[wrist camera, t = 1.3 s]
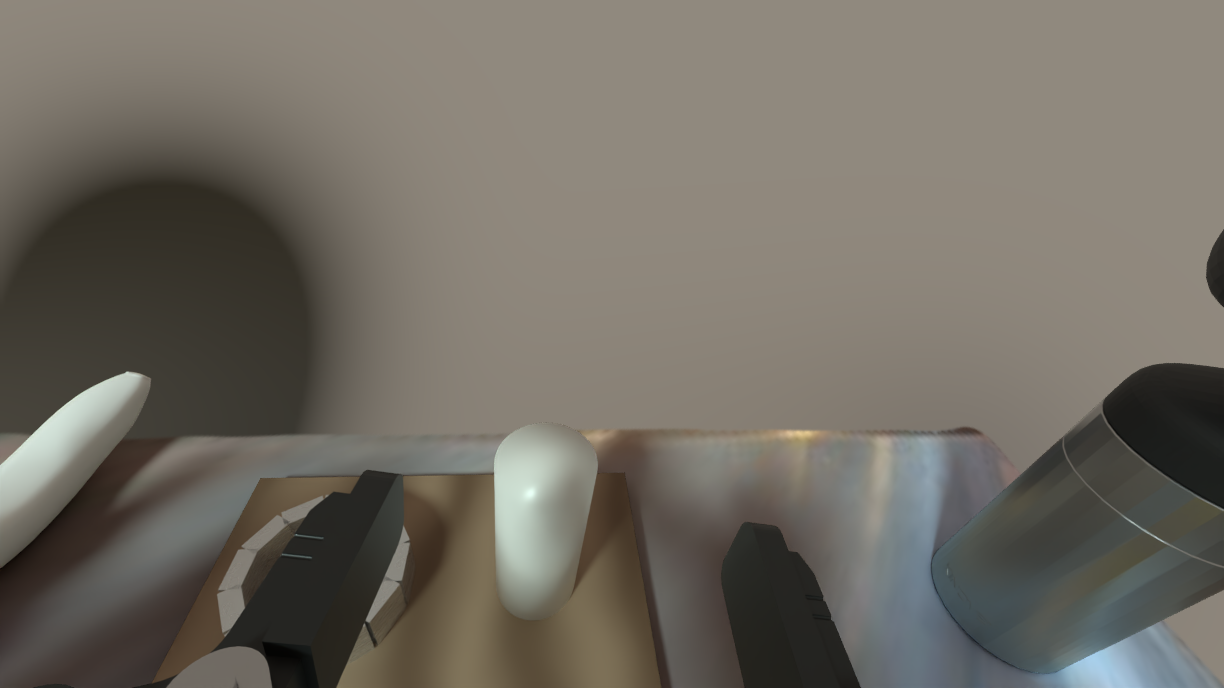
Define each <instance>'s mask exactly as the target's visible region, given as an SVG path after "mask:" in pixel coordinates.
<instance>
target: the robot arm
mask: <svg viewBox="0 0 1224 688" xmlns="http://www.w3.org/2000/svg"><path fill="white" fill-rule="evenodd" d="M1206 278H1207V282H1208V286H1209V289H1210V291H1211V293H1212V294H1213V296H1214V297H1215V298H1216V299H1217V301H1218V302H1219V303H1220V304H1221V305H1222V306H1223V307H1224V230H1223V231H1222V233H1221V234H1220V236H1219V237H1218V239H1217V241H1216V242H1215V244H1214V246H1213V248H1212V250H1211V253H1210V256H1209V259H1208V262H1207V272H1206ZM403 524H404V490H403V476H402V475H401V474H394V473H387V472H379V471H372V470H366V471H365V472H363V474H362V475H361V476H360V478H359V480H358V481H357V483H356V485H355V486H354V488H353V490H352V491H351V493H350V494H349V493H341V492H332V493H331V494H330V495H329V496H327V497H326V498H325V499H323V500H322V501H321V502H320V503H318V504H317V505H316V506H315V507H313V508H312V509H311V510H310V511H309V513H308V514H307V516H306V517H305V519H304V520H303V522H302V523H301V525H300V526H299V528H298V529H297V531H296V532H295V535H294V537H293V538H291V540H290V541H289V543H288V544H287V546H286V547H285V549H284V550H283V552H282V555H281V557H279V558H278V559H277V561H276V562H275V564H274V565H273V567H272V568H271V570H270V571H269V573H268V574H267V576H266V577H265V579H264V580H263V582H262V583H261V585H260V586H259V588H258V589H257V591H256V592H255V594H254V595H253V597H252V598H251V600H250V601H249V603H248V604H247V606H246V607H245V609H244V610H243V612H242V613H241V615H240V616H239V618H238V619H237V621H236V622H235V624H234V625H233V627H232V628H231V630H230V631H229V632H228V634H227V635H226V636H225V638H224V639H223V640H222V641H221V642H220V644H219V645H218V646H217V647H216V648H215V649H214V650H213V651H211V652H210V653H209V654H208V655H206V656H204V657H202V658H200V659H198V660H197V661H195V662H193V663H192V664H190V665H189V666H188V667H187V668H185V669H184V670H183V671H182V672H181V673H179V674H177V675H175V676H172V677H170V678H167V679H165V680H162V681H158V682H155V683H151V684H147V685H143V686H138V687H134V688H336V687H337V685H338V683H339V680H340V678H341V676H342V673H343V671H344V669H345V667H346V664H347V662H348V660H349V657H350V655H351V653H352V650H353V648H354V646H355V644H356V641H357V639H358V637H359V634H360V632H361V630H362V627H363V625H364V623H365V620H366V618H367V616H368V614H369V611H370V609H371V607H372V604H373V602H374V600H375V597H376V595H377V593H378V591H379V588H380V586H381V584H382V581H383V579H384V577H385V574H386V572H387V570H388V567H389V565H390V563H391V561H392V558H393V556H394V554H395V551H396V549H397V547H398V544H399V541H400V538H401V534H402V530H403ZM932 575H933V580H934V583H935V586H936V589H937V592H938V594H939V595H940V597H941V599H942V601H943V603H944V605H945V606H946V608H947V609H948V611H949V612H950V613H951V615H952V616H953V617H954V619H955V620H956V621H957V622H958V623H959V625H960V626H961V627H962V628H963V629H964V630H965V631H966V632H967V633H968V634H969V635H970V636H971V637H972V638H973V639H974V640H975V641H977V642H978V643H979V644H980V645H981V646H982V647H984V648H985V649H986V650H988V651H989V652H991V653H992V654H994V655H995V656H996V657H998V658H1000V659H1001V660H1003V661H1005V662H1007V663H1009V664H1011V665H1013V666H1015V667H1018V668H1020V669H1023V670H1026V671H1029V672H1034V673H1041V674H1047V673H1054V672H1057V671H1059V670H1061V669H1063V668H1065V667H1067V666H1070V665H1072V664H1074V663H1076V662H1078V661H1080V660H1082V659H1084V658H1086V657H1088V656H1090V655H1092V654H1094V653H1096V652H1098V651H1100V650H1103V649H1105V648H1107V647H1109V646H1111V645H1113V644H1115V643H1117V642H1119V641H1121V640H1123V639H1125V638H1127V637H1129V636H1131V635H1133V634H1136V633H1138V632H1140V631H1142V630H1144V629H1146V628H1148V627H1150V626H1152V625H1154V624H1156V623H1158V622H1160V621H1162V620H1164V619H1166V618H1168V617H1170V616H1172V615H1174V614H1176V613H1178V612H1180V611H1182V610H1184V609H1186V608H1188V607H1190V606H1192V605H1194V604H1196V603H1198V602H1200V601H1202V600H1204V599H1206V598H1208V597H1210V596H1213V595H1214V594H1217V593H1219V592H1221V591H1222V590H1224V368H1218V367H1210V366H1202V365H1194V364H1182V363H1164V364H1156V365H1151V366H1148V367H1145V368H1142V369H1140V370H1138V371H1137V372H1135V373H1133V374H1132V375H1131V376H1129V377H1128V378H1127V379H1125V380H1124V381H1123V382H1122V383H1121V384H1120V385H1119V386H1118V387H1117V388H1115V389H1114V390H1113V391H1112V392H1111V393H1110V394H1109V395H1108V396H1107V397H1106V398H1105V399H1103V400H1102V401H1101V402H1100V403H1099V404H1098V405H1097V406H1096V407H1094V408H1093V409H1092V410H1091V411H1090V412H1089V413H1088V414H1087V415H1086V416H1085V417H1083V418H1082V419H1081V420H1080V421H1079V422H1078V423H1077V424H1076V425H1075V426H1074V427H1073V428H1072V429H1070V430H1069V431H1068V432H1067V433H1066V434H1065V435H1064V436H1063V437H1062V438H1061V439H1060V440H1059V441H1057V442H1056V443H1055V444H1054V445H1053V446H1052V447H1051V448H1050V449H1049V450H1048V451H1047V452H1045V453H1044V454H1043V455H1042V456H1041V457H1040V458H1039V459H1038V460H1037V461H1036V462H1034V463H1033V464H1032V465H1031V466H1030V467H1029V468H1028V469H1027V470H1026V471H1024V472H1023V473H1022V474H1021V475H1020V476H1019V477H1018V478H1017V479H1016V480H1015V481H1013V482H1012V483H1011V484H1010V485H1009V486H1008V487H1007V488H1006V489H1005V490H1003V491H1002V492H1001V493H1000V494H999V495H998V496H997V497H996V498H995V499H994V500H992V501H991V502H990V503H989V504H988V505H987V506H986V507H985V508H984V509H983V510H981V511H980V512H979V513H978V514H977V515H976V516H975V517H974V518H973V519H972V520H970V521H969V522H968V523H967V524H966V525H965V526H964V527H963V528H961V529H960V530H959V531H958V532H957V533H956V534H955V535H954V536H953V537H952V538H951V539H949V540H948V541H947V542H946V543H945V544H944V545H943V546H942V547H941V548H940V549H938V550H937V551H936V553H935V555H934V557H933V560H932ZM721 580H722V588H723V593H724V597H725V601H726V606H727V610H728V615H729V619H730V624H731V628H732V633H733V637H734V642H735V646H736V651H737V655H738V660H739V664H740V668H741V673H742V677H743V682H744V686H745V688H861V687H860V685H859V682H858V680H857V677H856V675H855V672H854V670H853V668H852V665H851V663H850V660H849V658H848V655H847V653H846V651H845V648H844V646H843V643H842V641H841V638H840V636H839V633H838V631H837V629H836V626H835V624H834V621H832V620H831V614H830V612H829V609H828V607H827V604H826V602H825V601H823V595H822V592H821V590H820V587H819V585H818V582H817V580H816V577H815V575H814V573H813V572H812V570H811V569H810V568H809V567H808V565H807V564H806V563H805V561H804V560H803V559H802V558H801V556H800V555H799V554H798V552H790V551H788V549H787V546H786V543H785V541H784V538H783V535H782V533H781V531H780V529H779V528H778V527H776V526H772V525H765V524H757V523H750V522H745V523H743V524H742V526H741V528H740V530H739V532H738V533H737V535H736V537H735V539H734V541H733V543H732V545H731V547H730V549H729V551H728V553H727V555H726V557H725V559H724V561H723V565H722V573H721ZM34 688H74V687H71V686H68V685H62V684H51V685H43V686H38V687H34Z"/></svg>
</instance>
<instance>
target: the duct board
mask: <svg viewBox="0 0 1224 688" xmlns="http://www.w3.org/2000/svg"><path fill="white" fill-rule="evenodd" d="M359 478H360V477H309V478H260V480H259V482H258V484H257V486H256V488H255V490H254V492H253V493H252V495H251V497H250V499H249V501H248V503H247V505H246V507H245V508H244V510H243V512H242V514H241V516H240V518H239V520H238V522H237V524H236V525H235V527H234V529H233V531H232V533H231V535H230V537H229V539H228V540H227V542H226V544H225V546H224V548H223V550H222V552H221V554H220V555H219V557H218V559H217V561H216V563H215V565H214V567H213V569H212V571H211V572H210V574H209V576H208V578H207V580H206V582H205V584H204V586H203V587H202V589H201V591H200V593H199V595H198V597H197V599H196V601H195V602H194V604H193V606H192V608H191V610H190V612H189V614H188V616H187V617H186V619H185V621H184V623H183V625H182V627H181V629H180V631H179V633H178V634H177V636H176V638H175V640H174V642H173V644H172V646H171V648H170V649H169V651H168V653H167V655H166V657H165V659H164V661H163V663H162V664H161V666H160V668H159V670H158V672H157V674H156V676H155V678H154V679H153V681H152V683H155V682H158V681H162V680H165V679H167V678H170V677H172V676H175V675H177V674H179V673H181V672H182V671H183V670H184V669H185V668H187V667H188V666H189V665H190V664H192V663H193V662H195V661H197V660H198V659H200V658H202V657H204V656H206V655H208V654H209V653H210V652H211V651H213V650H214V649H215V648H216V647H217V646H218V645H219V644H220V642H221V641H222V640H223V639H224V638H225V636H224V634H223V633H222V626H221V619H220V612H219V604H218V597H217V594H218V593H220V592H219V591H218V589H219V587H220V585H221V583H222V581H223V579H224V577H225V575H226V573H227V571H228V569H229V567H230V565H231V563H232V561H233V559H234V557H235V555H236V553H237V551H238V550H241V549H243V548H242V547H241V546H242V545H243V544H244V543H245V542H247V541H248V540H249V539H250V538H251V537H252V536H254V535H255V534H256V533H257V532H258V531H259V530H260V529H262V528H263V527H264V526H265V525H266V524H267V523H269V522H270V521H271V520H272V519H273V518H274V517H275V516H277V515H279V516H280V517H282V514H281V512H284V511H286V510H289V509H291V508H293V507H296V506H298V505H301V504H303V503H306V502H308V501H311V500H313V499H316V498H318V497H320V496H323V498H324V499H325V497H326V495H330V494H331V493H332V492H341V493H349V494H350V493H351V491H352V490H353V488H354V486H355V485H356V483H357V481H358V480H359ZM403 490H404V524H403V525H404V528H405V530H406V532H407V535H408V537H409V539H410V543H411V547H412V552H413V556H414V561H415V567H416V568H415V573H414V578H413V583H412V588H411V593H410V598H409V603H408V604H406V607H407V608H406V609H405V611H404V612H403V613H402V615H401V616H400V617H399V619H398V620H397V621H396V623H395V624H394V625H393V627H392V628H391V629H390V631H389V632H388V633H387V635H386V636H385V637H384V638H383V640H382V641H381V642H380V644H379V645H377V644H375V643H374V642H373V644H374V647H375V649H373V650H371V651H370V652H368V653H366V654H365V655H363V656H361V657H360V658H358V659H356V660H355V661H353V662H351V663H350V664H348V665H346V667H345V669H344V671H343V673H342V676H341V678H340V680H339V683H338V685H337V687H336V688H661V682H660V677H659V671H658V665H657V659H656V653H655V647H654V642H653V636H652V630H651V624H650V618H649V612H648V607H647V601H646V595H645V589H644V583H643V577H642V572H641V566H640V560H639V554H638V548H637V542H636V536H635V531H634V525H633V519H632V513H631V507H630V501H629V496H628V490H627V484H626V478H625V473H597V475H596V480H595V485H594V490H593V495H592V500H591V505H590V510H589V515H588V520H587V525H586V530H585V535H584V540H583V545H582V549H581V554H580V559H579V564H578V569H577V574H576V579H575V584H574V588H573V592H572V594H571V597H570V599H569V600H568V602H567V603H566V605H565V606H564V607H563V608H562V609H561V610H560V611H558V612H557V613H556V614H554V615H552V616H550V617H548V618H545V619H542V620H525V619H521V618H518V617H516V616H514V615H513V614H511V613H510V612H509V611H508V610H506V608H505V607H504V606H503V605H502V603H501V602H500V599H499V597H498V594H497V590H496V558H495V488H494V475H441V476H403Z"/></svg>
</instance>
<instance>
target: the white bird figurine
mask: <svg viewBox="0 0 1224 688" xmlns="http://www.w3.org/2000/svg"><path fill="white" fill-rule="evenodd" d="M150 381H151V378H148V377H146V376H144V375H142V374H139V373H135V372H126V373H125V374H121V375H119V376H115V377H113V378H110V379H108V380H106V381H103V382H102V383H99V384H97V385H95V386H93V387H91V388H89V389H88V390H86V391H84V392H83V393H81V394H79V395H78V396H76V397H75V398H74V399H72V400H71V401H69V402H68V403H67V404H65V405H64V406H63V407H62V408H61V409H60V410H58V411H57V412H56V413H55V414H54V415H53V416H52V417H50V419H48V420H47V421H46V422H45V423H44V424H43V425H42V426H41V427H40V428H38V430H37V431H35V433H33V434H32V435H31V436H30V437H29V438H28V439H27V440H26V441H25V442H24V443H23V444H22V445H21V446H20V447H19V448H18V449H17V450H16V451H15V452H14V453H13V454H12V455H11V456H10V457H9V458H8V459H7V460H6V461H4V462H3V463H2V464H1V465H0V568H2V567H3V566H4V565H5V564H7V563H8V562H9V561H10V560H11V559H13V558H14V557H15V556H16V555H17V554H19V553H20V552H21V551H22V550H23V549H24V548H25V547H26V546H27V545H29V544H30V543H31V542H32V541H33V540H34V539H35V538H36V537H37V536H38V535H39V534H40V533H41V532H42V531H43V530H44V529H45V528H46V527H47V526H48V525H49V524H50V523H51V522H52V520H53V519H54V518H55V517H56V516H57V515H58V514H59V513H60V512H61V511H62V510H63V509H64V507H65V506H66V505H67V504H68V503H69V502H70V501H71V500H72V498H73V497H74V496H75V495H76V494H77V493H78V492H79V490H80V489H81V488H82V487H83V486H84V484H85V483H86V482H87V481H88V479H89V478H90V477H91V476H92V475H93V473H94V472H95V471H96V470H97V468H98V467H99V466H100V464H101V463H102V462H103V461H104V460H105V459H106V457H107V456H108V455H109V454H110V453H111V451H112V450H113V449H114V448H115V447H116V446H117V444H118V443H119V442H120V441H121V440H122V439H123V438H124V436H125V435H126V434H127V433H128V431H129V430H130V429H131V427H132V425H133V424H134V422H135V421H136V419H137V417H138V415H139V413H140V411H141V409H142V407H143V404H144V402H145V400H146V397H147V395H148V392H149V389H150Z"/></svg>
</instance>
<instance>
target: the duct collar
mask: <svg viewBox="0 0 1224 688" xmlns="http://www.w3.org/2000/svg"><path fill="white" fill-rule="evenodd" d="M327 496H329V495H326V497H327ZM326 497H325V498H326ZM323 499H324V498H323V496H320V497H318V498H316V499H313V500H311V501H308V502H306V503H303V504H301V505H298V506H296V507H293V508H291V509H289V510H286V511H284V512H281V514H282V517H280V516H279V515H277V516H275V517H274V518H273V519H272V520H271V521H270V522H269V523H267V524H266V525H265V526H264V527H263V528H262V529H260V530H259V531H258V532H257V533H256V534H255V535H254V536H252V537H251V538H250V539H249V540H248V541H247V542H245V543H244V544H243V545H242V546H241V547H242V548H243V549H241V550H238V551H237V553H236V555H235V557H234V559H233V561H232V563H231V565H230V567H229V569H228V571H227V573H226V575H225V577H224V579H223V581H222V583H221V585H220V587H219V589H218V591H219V592H220V593H218V594H217V597H218V604H219V612H220V619H221V626H222V633H223V634H224V636H226V635H227V634H228V632H229V631H230V630H231V628H232V627H233V625H234V624H235V622H236V621H237V619H238V618H239V616H240V615H241V613H242V612H243V610H244V609H245V607H246V606H247V604H248V603H249V601H250V600H251V598H252V597H253V595H254V594H255V592H256V591H257V589H258V588H259V586H260V585H261V583H262V582H263V580H264V579H265V577H266V576H267V574H268V573H269V571H270V570H271V568H272V567H273V565H274V564H275V562H276V561H277V559H278V558H279V557H281V555H282V552H283V550H284V549H285V547H286V546H287V544H288V543H289V541H290V540H291V538H293V537H294V535H295V532H296V531H297V529H298V528H299V526H300V525H301V523H302V522H303V520H304V519H305V517H306V516H307V514H308V513H309V511H310V510H311V509H312V508H313V507H315V506H316V505H317V504H318V503H320V502H321V501H322V500H323ZM415 568H416V567H415V561H414V556H413V552H412V547H411V543H410V539H409V537H408V535H407V532H406V530H405V528H404V525H403V530H402V534H401V538H400V541H399V544H398V547H397V549H396V551H395V554H394V556H393V558H392V561H391V563H390V565H389V567H388V570H387V572H386V574H385V577H384V579H383V581H382V584H381V586H380V588H379V591H378V593H377V595H376V597H375V600H374V602H373V604H372V607H371V609H370V611H369V614H368V616H367V618H366V620H365V623H364V625H363V627H362V630H361V632H360V634H359V637H358V639H357V641H356V644H355V646H354V648H353V650H352V653H351V655H350V657H349V660H348V662H347V664H346V665H348V664H350V663H351V662H353V661H355V660H356V659H358V658H360V657H361V656H363V655H365V654H366V653H368V652H370V651H371V650H373V649H375V647H374V644H373V642H374V643H375V644H377V645H379V644H380V642H381V641H382V640H383V638H384V637H385V636H386V635H387V633H388V632H389V631H390V629H391V628H392V627H393V625H394V624H395V623H396V621H397V620H398V619H399V617H400V616H401V615H402V613H403V612H404V611H405V609H406V608H407V607H406V604H408V603H409V598H410V593H411V588H412V583H413V578H414V573H415Z"/></svg>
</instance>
